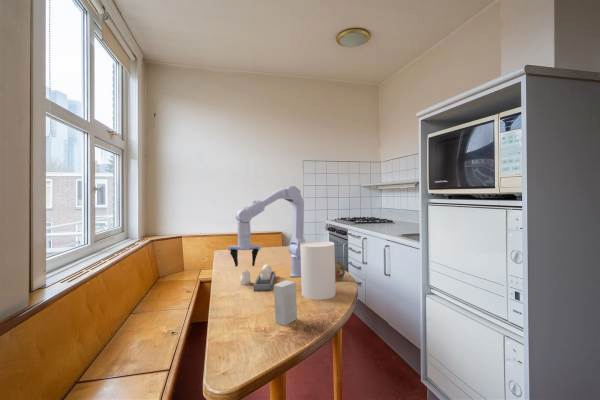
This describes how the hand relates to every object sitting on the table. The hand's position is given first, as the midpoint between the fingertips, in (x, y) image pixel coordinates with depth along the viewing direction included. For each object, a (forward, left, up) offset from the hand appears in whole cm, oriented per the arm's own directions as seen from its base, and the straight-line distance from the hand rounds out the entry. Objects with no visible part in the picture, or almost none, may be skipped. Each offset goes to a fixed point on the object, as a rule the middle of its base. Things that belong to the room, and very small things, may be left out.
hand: (245, 265), depth 130 cm
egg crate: (-9, 0, -8) cm, 12 cm away
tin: (-38, -2, -8) cm, 39 cm away
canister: (-32, +16, -8) cm, 37 cm away
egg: (0, 0, -8) cm, 8 cm away
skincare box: (-20, +40, -8) cm, 46 cm away
